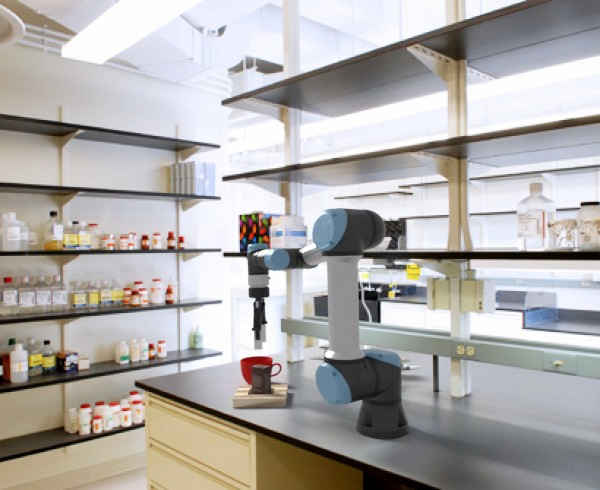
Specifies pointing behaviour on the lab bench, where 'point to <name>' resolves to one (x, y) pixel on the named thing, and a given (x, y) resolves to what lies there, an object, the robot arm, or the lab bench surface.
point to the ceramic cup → (252, 361)
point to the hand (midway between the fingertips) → (260, 345)
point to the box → (261, 380)
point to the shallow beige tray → (260, 397)
